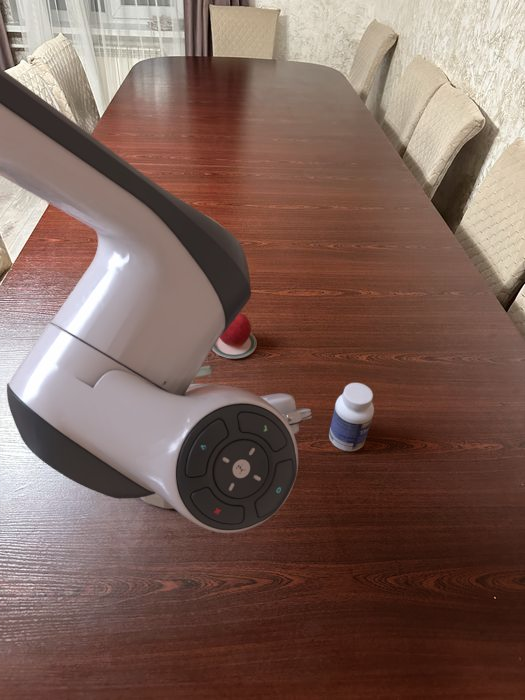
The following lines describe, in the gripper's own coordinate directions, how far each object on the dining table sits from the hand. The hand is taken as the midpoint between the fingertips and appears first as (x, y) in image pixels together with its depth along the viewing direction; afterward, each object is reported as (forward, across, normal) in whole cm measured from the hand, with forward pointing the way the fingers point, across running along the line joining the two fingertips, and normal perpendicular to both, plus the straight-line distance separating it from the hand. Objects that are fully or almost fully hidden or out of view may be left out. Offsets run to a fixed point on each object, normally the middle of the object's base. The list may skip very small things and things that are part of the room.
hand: (185, 423), depth 57 cm
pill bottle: (+15, -24, +8) cm, 30 cm away
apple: (+32, -13, -9) cm, 36 cm away
